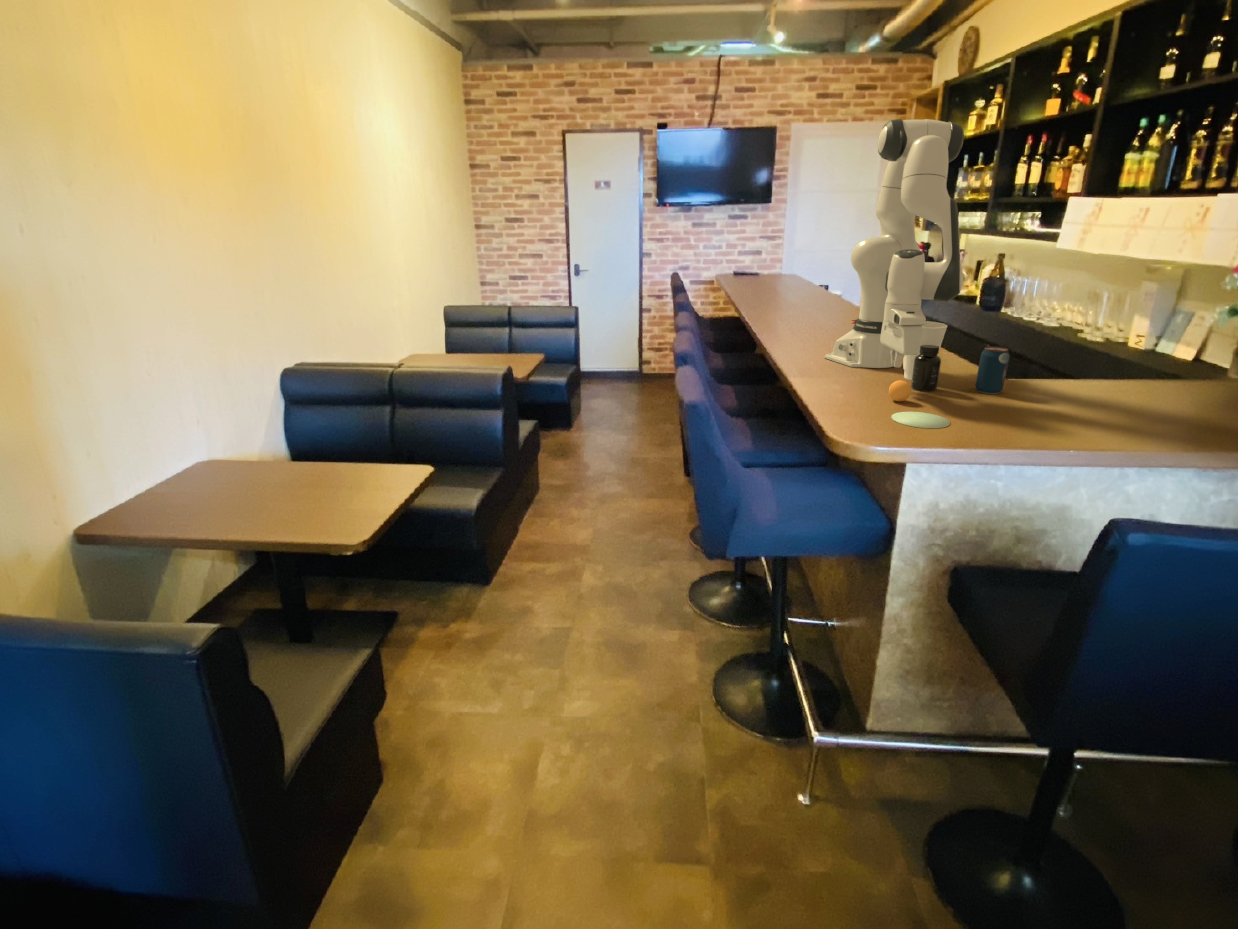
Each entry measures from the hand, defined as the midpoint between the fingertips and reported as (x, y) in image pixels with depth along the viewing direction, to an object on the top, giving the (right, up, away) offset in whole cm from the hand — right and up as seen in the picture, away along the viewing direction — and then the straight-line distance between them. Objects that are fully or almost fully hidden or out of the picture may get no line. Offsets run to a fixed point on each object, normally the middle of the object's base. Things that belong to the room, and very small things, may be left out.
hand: (896, 366), depth 188 cm
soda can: (+27, -6, +5) cm, 28 cm away
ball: (-2, -7, -6) cm, 10 cm away
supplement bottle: (+10, -5, +7) cm, 14 cm away
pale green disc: (-3, -16, -21) cm, 27 cm away
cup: (+13, -1, +19) cm, 23 cm away
